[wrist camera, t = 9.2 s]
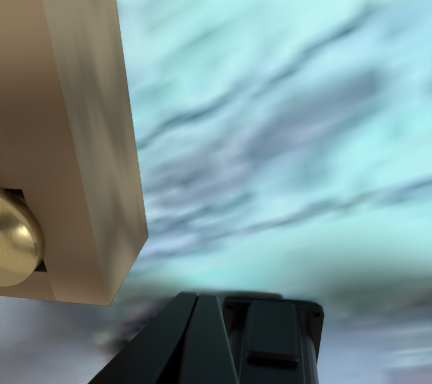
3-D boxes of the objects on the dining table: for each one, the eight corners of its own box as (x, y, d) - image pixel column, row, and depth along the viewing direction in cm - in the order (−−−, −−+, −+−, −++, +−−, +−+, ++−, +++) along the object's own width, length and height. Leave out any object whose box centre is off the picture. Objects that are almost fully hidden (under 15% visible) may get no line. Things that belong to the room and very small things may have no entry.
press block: (148, 236, 22) (109, 305, 17) (6, 228, 24) (-70, 289, 19) (93, -166, 14) (-19, -275, 9) (-122, -141, 15) (-330, -222, 10)
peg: (106, 219, 22) (47, 291, 16) (29, 215, 23) (-53, 282, 17) (90, 138, 19) (15, 189, 14) (5, 136, 20) (-99, 184, 15)
